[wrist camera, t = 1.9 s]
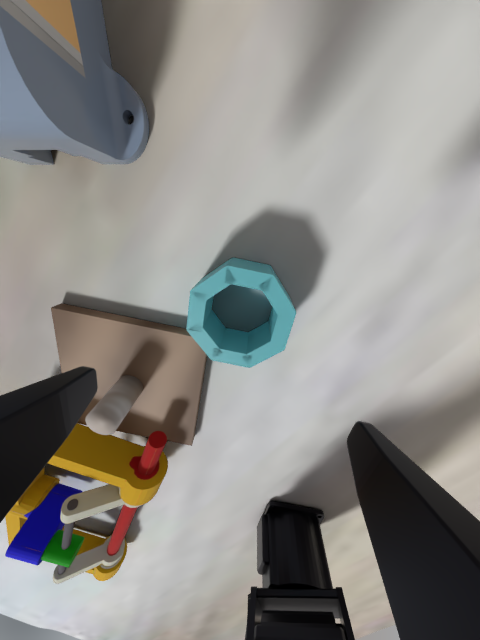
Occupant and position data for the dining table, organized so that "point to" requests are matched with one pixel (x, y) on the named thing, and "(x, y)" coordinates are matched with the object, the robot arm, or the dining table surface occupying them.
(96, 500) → the yellow jointed frame
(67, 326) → the post stand
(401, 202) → the dining table surface
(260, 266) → the ring
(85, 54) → the vise
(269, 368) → the dining table surface
